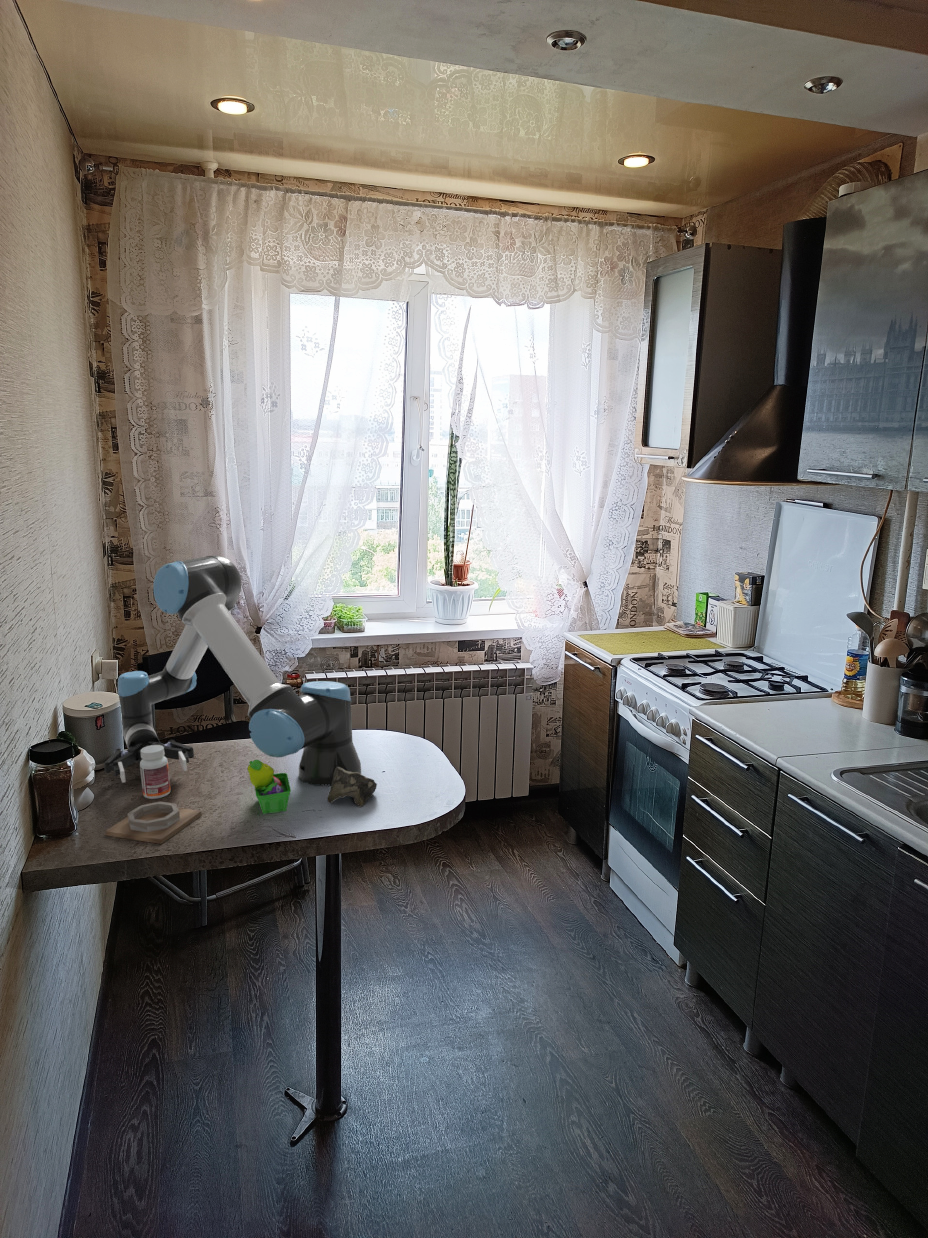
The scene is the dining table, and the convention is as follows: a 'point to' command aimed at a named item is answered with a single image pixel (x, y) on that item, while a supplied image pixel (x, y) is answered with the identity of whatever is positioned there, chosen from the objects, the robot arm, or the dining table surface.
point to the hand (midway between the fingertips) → (154, 771)
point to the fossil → (351, 786)
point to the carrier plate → (154, 834)
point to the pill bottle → (154, 772)
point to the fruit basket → (269, 787)
